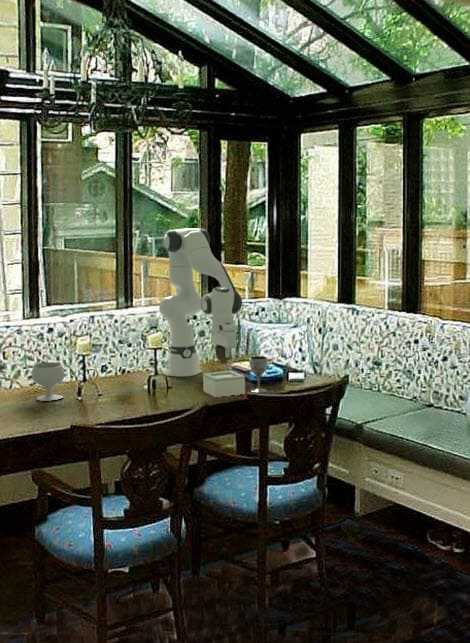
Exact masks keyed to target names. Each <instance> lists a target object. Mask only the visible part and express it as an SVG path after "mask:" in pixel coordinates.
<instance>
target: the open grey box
mask: <svg viewBox="0 0 470 643" xmlns="http://www.w3.org/2000/svg"><path fill="white" fill-rule="evenodd" d="M202 380H203V381H202V383H203V384H202V385H203V392H204V393H206V394H207V395H209V394H210V396H211V395H212V396H211V397H213V396H214V397H213V398H215V397H218V398H223V397H222V396H226V397H232V396H231V395H235V396H241V395H240V394H243V395H246V375H243V374H241V373H238V372H237V371H235V370H226V371H225V370H223V371H216V372H215V371H214V372H204V373H202Z"/></svg>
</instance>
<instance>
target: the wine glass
mask: <svg viewBox="0 0 470 643" xmlns="http://www.w3.org/2000/svg"><path fill="white" fill-rule="evenodd" d="M249 368H250V371H251V372H252V373H253V375H255V377H256V379H257V388H255V389H251V390H250V392H251V393H254V392H255V393H256V394H261V393H266V392H268V391H267V389H265V388H261V387H260V383H261V378H262V376H263V374H264V373H265V372H266V371H267V368H268V357H267V356H264V355H256V356H255V355H254V356H250V357H249Z"/></svg>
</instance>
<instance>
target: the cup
mask: <svg viewBox="0 0 470 643" xmlns="http://www.w3.org/2000/svg"><path fill="white" fill-rule="evenodd" d="M232 350H233V348H232V349H231V350H230V353H229V355H230V356H229V357H228V358H226V357H225V347H223V346H220V345H218V347H217V346H216V345H215V346H214V351H215V356H216V359H217V361H219V364H220V365H223V366H224V365H227V364H229V361H230V359H231V357H232Z"/></svg>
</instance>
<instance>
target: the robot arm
mask: <svg viewBox="0 0 470 643" xmlns="http://www.w3.org/2000/svg"><path fill="white" fill-rule="evenodd" d="M210 243H211V237H210V234H209V232H208V231H207V229H205V228H195V227H193V228H190V227H187V228H180V229H179V228H178V229H170V230H168V231H166V232H165V233H164V237H163V246H164V248H165V250H166V251H167V252H169V258H168V259H169V260H168V273H169V274H168V276H169V282H170V284H171V285H172V286H174V288H175V290H176V291H175V292H176V294H174V295H169V296H166V297H164V298H163V299H161V300H160V302H159V305H158V307H159V308H158V309H159V310H158V311H159V312H160V315H161V316H162V317H163V318H165V320H166V321H167V323H168V326H169V330H170V348H169V353H168V356H167V357H166V359H165V360H163V366H165V367H161V369H160V371H161V372H162V373H163V374H165V375H166V377H192V376H196V375H198V374H200V373H202V372H203V371H202V369H200V363H199V356H198V355H197V354H196V344H195V331H194V330H195V329H194V327H192V326H191V325H190V324H189V322H188V319H187V317H190V316H194V315H196V314H198V313H200V312H201V311H202V312H203V313H204V314H205V315H208V316H212V326H211V331H210V340H211V343H213V344H215V346H217V347H218V345H220V346H222V347H225V357H226V358H228V357H229V356H230V355H229V353H230V350H231V349H232V350H233V349H236V346H237V330H238V327H237V325H236V323H235V322H234V319H233V318H234V317H233V315H236V314H238V313H239V311H240V310H241V309H242V307H243V299H242V296H241V294H240V293H239V292H238V290H237V289H236V286H234V283H233V281H232V279H231V278H230V275H229V273H228V272H227V270H226V268H225V266H224V265H223V263H222V262H221V261H219V260H218V259H217V258H216V257H215V256H214V254H213V253H212V250H211V247H210ZM193 271H195V272H197V273H198V274H203V275H205V276H206V275H207V276H210V277H213V278H215V280H217V281H218V283H219V285H220V286H216V287H214V288H212V291H211V292H209V293H207V294H204V295H203V296H201V295H200V294H199V293H198V292H197V290H196V289H197V288H196V287H195V284H194V277H193V276H194V275H193ZM165 375H164V376H165Z"/></svg>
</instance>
